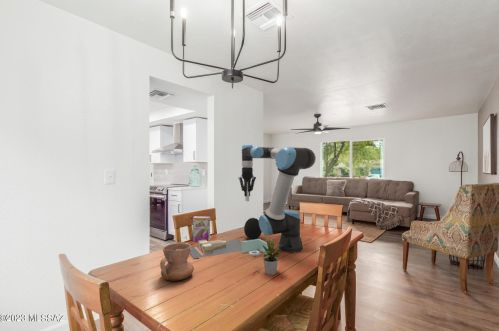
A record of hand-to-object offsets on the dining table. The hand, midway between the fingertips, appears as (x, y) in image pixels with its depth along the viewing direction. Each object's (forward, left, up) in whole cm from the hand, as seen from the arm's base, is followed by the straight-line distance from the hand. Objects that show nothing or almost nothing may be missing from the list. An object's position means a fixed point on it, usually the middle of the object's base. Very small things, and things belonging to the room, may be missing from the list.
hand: (247, 201), depth 180 cm
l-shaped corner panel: (-31, +10, -27) cm, 42 cm away
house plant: (-54, +15, -27) cm, 62 cm away
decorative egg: (-3, -3, -27) cm, 27 cm away
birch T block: (-11, +28, -26) cm, 40 cm away
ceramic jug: (-41, +56, -27) cm, 74 cm away
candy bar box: (+9, +30, -27) cm, 41 cm away
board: (-11, +25, -26) cm, 38 cm away
